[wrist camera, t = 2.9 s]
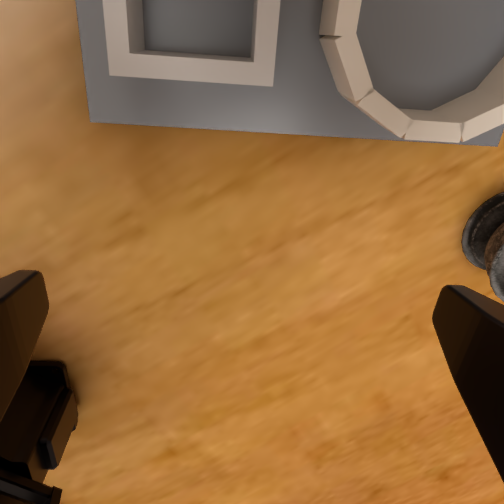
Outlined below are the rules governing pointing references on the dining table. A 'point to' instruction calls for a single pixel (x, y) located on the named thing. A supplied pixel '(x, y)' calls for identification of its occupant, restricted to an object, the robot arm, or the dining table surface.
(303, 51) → the socket board
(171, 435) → the dining table surface
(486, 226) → the dark grey tiered column
